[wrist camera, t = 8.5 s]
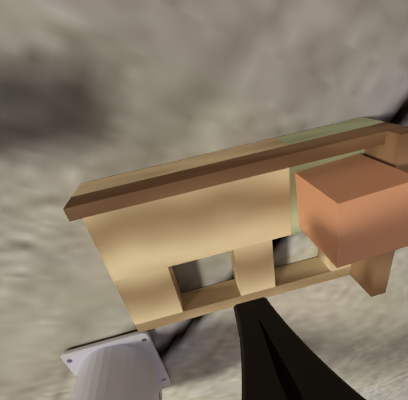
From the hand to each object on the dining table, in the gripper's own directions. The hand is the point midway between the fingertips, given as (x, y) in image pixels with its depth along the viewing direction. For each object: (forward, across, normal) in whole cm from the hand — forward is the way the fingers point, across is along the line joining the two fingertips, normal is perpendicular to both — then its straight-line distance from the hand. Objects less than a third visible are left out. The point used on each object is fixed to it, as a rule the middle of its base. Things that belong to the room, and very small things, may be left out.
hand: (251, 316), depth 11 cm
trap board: (+10, -2, +2) cm, 10 cm away
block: (+8, -8, 0) cm, 11 cm away
